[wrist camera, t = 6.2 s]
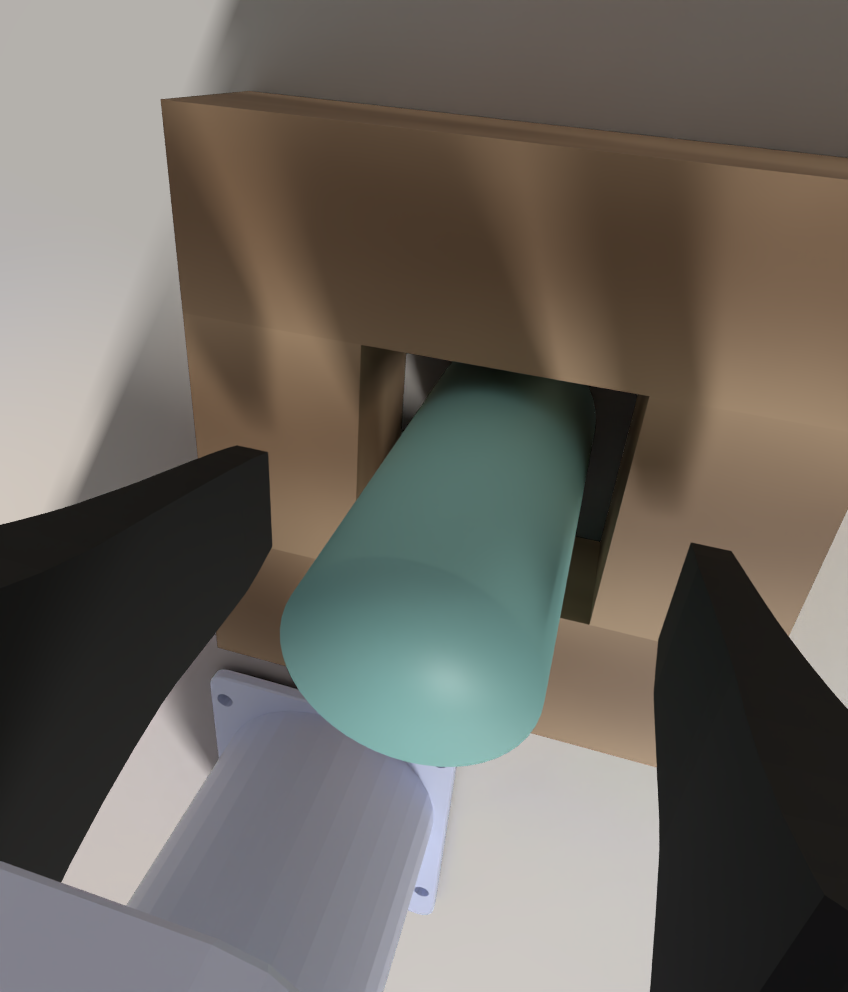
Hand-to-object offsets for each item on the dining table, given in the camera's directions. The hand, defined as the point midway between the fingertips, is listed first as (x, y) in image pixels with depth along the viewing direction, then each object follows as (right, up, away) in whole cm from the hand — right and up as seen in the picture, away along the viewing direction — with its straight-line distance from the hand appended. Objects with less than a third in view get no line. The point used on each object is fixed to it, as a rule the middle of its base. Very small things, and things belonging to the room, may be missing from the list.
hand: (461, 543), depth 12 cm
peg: (+1, +3, +4) cm, 5 cm away
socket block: (+1, +2, +4) cm, 5 cm away
